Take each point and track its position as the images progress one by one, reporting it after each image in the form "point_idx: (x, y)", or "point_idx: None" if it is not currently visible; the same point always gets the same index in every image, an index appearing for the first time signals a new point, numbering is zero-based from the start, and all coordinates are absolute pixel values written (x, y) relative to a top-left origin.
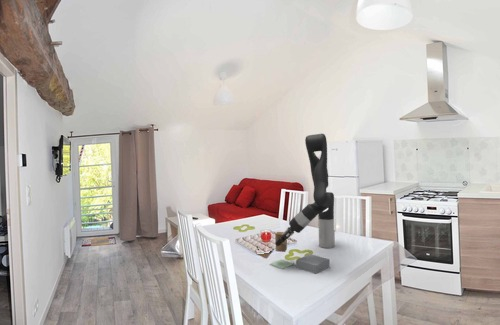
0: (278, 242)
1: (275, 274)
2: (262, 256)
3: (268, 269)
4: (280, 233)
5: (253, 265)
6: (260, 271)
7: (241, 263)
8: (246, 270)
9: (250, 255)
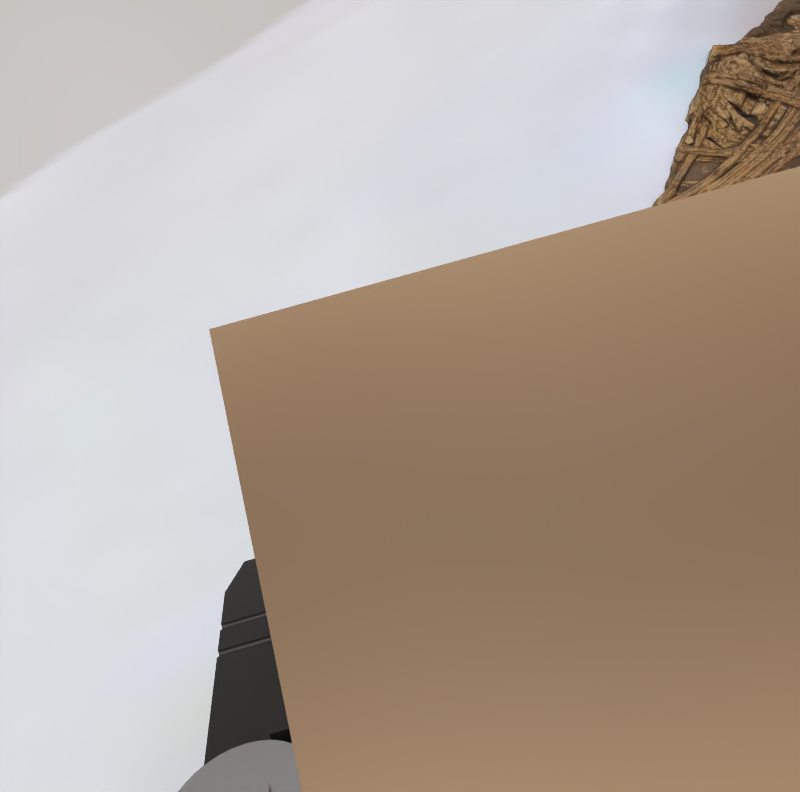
0: (228, 683)
1: (26, 784)
2: (671, 176)
3: (195, 551)
4: (607, 620)
5: (255, 259)
6: (68, 477)
7: (254, 89)
8: (36, 279)
9: (608, 17)
